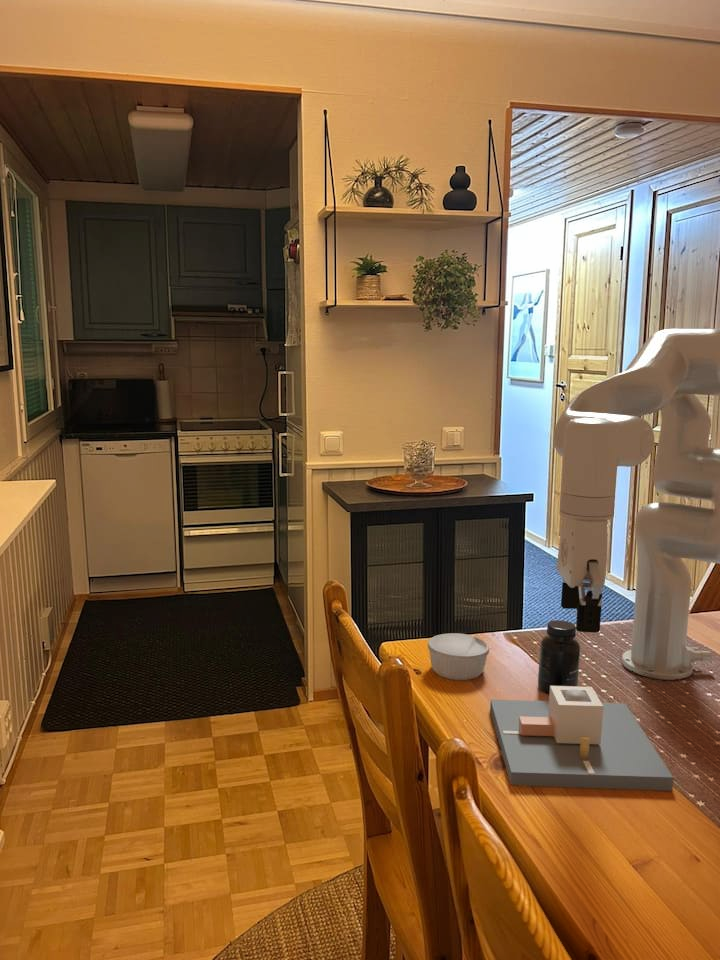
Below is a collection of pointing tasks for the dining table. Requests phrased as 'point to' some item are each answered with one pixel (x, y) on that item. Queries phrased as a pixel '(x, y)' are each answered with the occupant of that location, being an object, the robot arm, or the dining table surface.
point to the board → (579, 751)
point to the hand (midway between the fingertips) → (579, 619)
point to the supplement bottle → (559, 656)
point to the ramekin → (458, 655)
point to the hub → (567, 718)
